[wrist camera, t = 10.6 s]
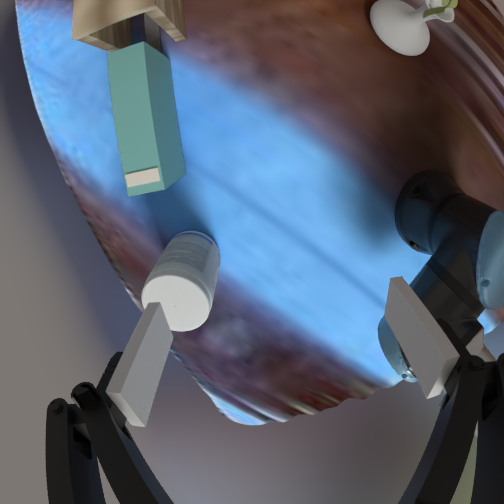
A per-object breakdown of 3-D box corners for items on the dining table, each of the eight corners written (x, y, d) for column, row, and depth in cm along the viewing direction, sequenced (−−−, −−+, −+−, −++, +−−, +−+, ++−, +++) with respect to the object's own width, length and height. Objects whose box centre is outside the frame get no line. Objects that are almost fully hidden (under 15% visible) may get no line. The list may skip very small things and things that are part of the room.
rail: (157, -1, 28) (157, -2, 28) (179, 174, 42) (178, 175, 42) (143, 3, 29) (143, 3, 28) (165, 177, 42) (164, 177, 42)
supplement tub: (157, 246, 47) (125, 292, 34) (199, 218, 45) (177, 258, 32) (190, 287, 51) (171, 341, 38) (232, 263, 49) (224, 316, 35)
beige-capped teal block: (169, 59, 33) (143, 40, 23) (186, 173, 41) (164, 190, 31) (139, 67, 34) (106, 54, 24) (156, 179, 42) (127, 197, 32)
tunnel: (182, 1, 29) (153, -42, 15) (186, 39, 32) (154, 4, 19) (121, 20, 30) (74, -9, 16) (123, 57, 33) (72, 38, 19)
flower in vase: (399, -4, 26) (482, -54, 4) (434, 48, 30) (535, 28, 8) (345, 13, 30) (418, -60, 7) (384, 69, 34) (491, 40, 11)
